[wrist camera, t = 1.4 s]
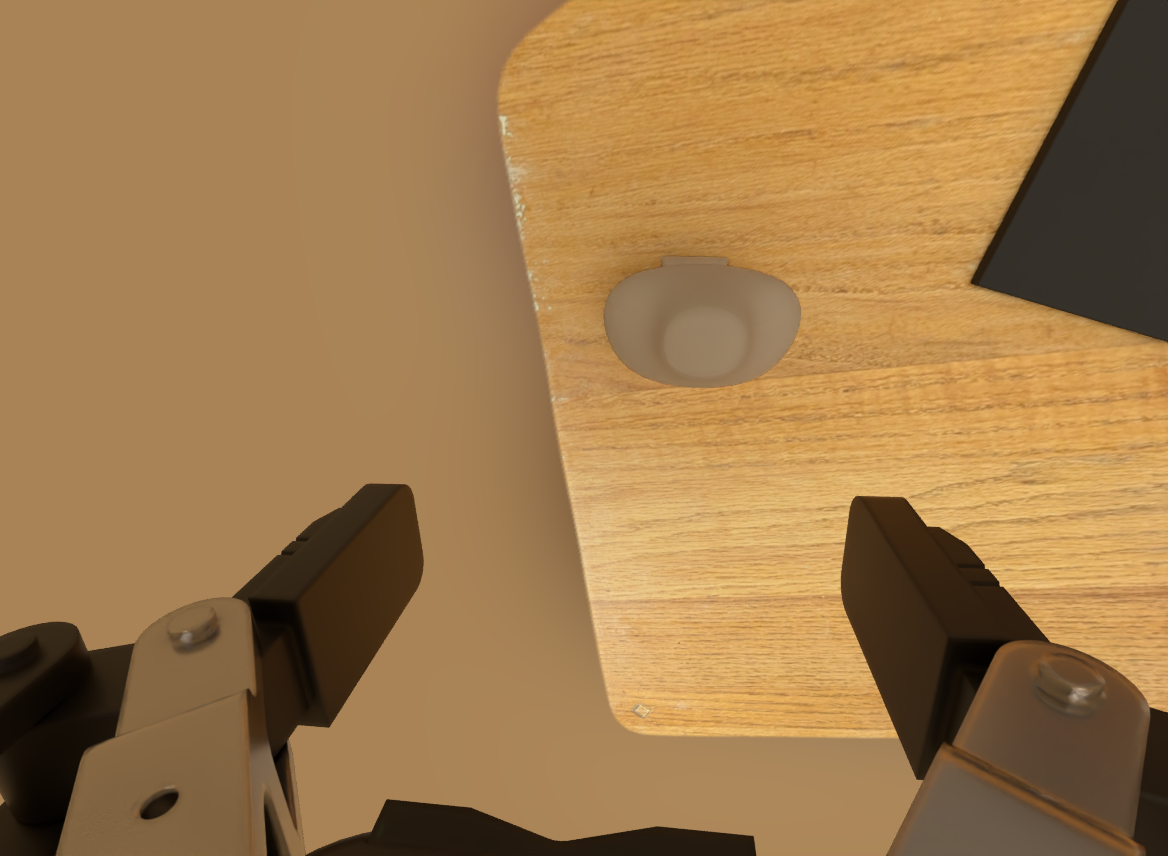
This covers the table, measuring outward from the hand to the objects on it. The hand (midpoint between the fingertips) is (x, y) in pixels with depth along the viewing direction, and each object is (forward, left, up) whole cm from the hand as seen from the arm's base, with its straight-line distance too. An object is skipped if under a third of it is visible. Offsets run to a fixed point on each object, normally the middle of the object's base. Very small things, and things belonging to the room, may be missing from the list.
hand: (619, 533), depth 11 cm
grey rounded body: (+2, +1, -22) cm, 22 cm away
